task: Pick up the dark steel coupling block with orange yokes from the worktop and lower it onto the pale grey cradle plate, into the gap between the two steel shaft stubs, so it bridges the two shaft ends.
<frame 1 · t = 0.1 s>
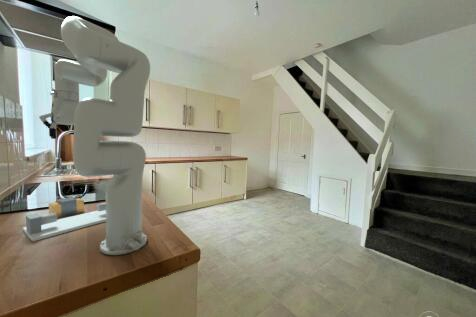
hand: (68, 139, 84), 31 cm above the counter, tool pointing down, fingers open, 9 cm apart
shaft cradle: (78, 222, 75), on the counter
coupling block: (67, 213, 83), on the counter
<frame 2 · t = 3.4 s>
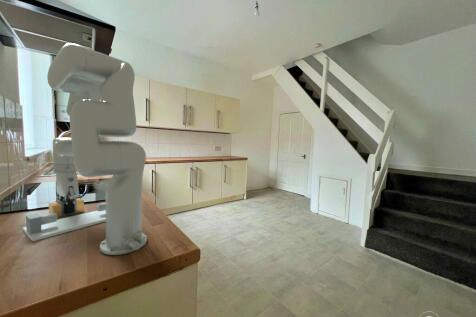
hand: (67, 211, 83), 1 cm above the counter, tool pointing down, fingers closed on coupling block, 5 cm apart
coupling block: (67, 213, 83), on the counter, touching gripper
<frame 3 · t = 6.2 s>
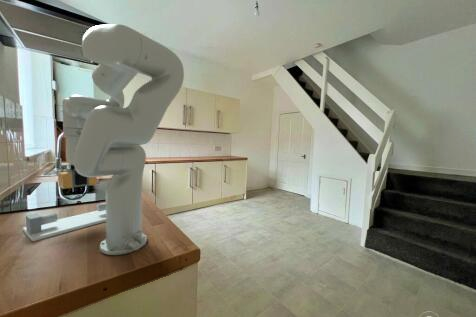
hand: (78, 182, 74), 15 cm above the counter, tool pointing down, fingers closed on coupling block, 5 cm apart
coupling block: (78, 185, 74), point 14 cm above the counter, touching gripper
when the fingers open (3 cm above the counter, at t = 9.2 s): coupling block drops 1 cm, resting on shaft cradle.
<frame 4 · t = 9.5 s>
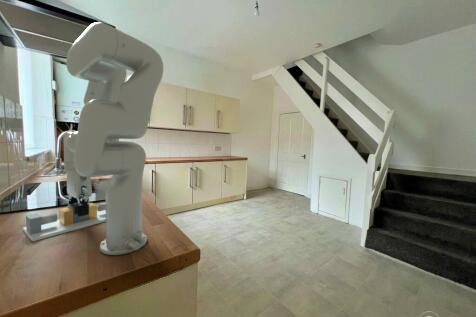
hand: (78, 212, 75), 4 cm above the counter, tool pointing down, fingers open, 7 cm apart
coupling block: (78, 220, 75), point 1 cm above the counter, touching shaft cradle
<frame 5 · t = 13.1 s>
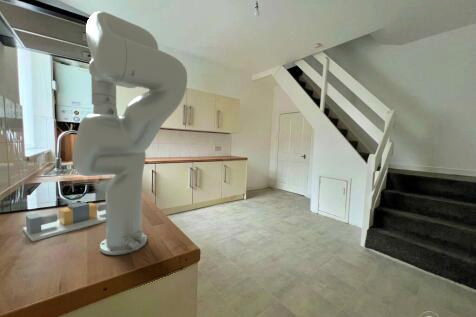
hand: (104, 148, 75), 28 cm above the counter, tool pointing down, fingers open, 9 cm apart
nothing on the counter moved.
at the end: coupling block 0.1 cm off-centre on the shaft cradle, point 1.0 cm above the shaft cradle's base; coupling block tilted 0°; the gripper is holding nothing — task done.
